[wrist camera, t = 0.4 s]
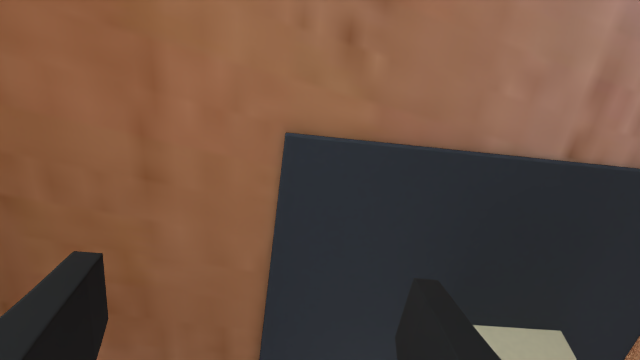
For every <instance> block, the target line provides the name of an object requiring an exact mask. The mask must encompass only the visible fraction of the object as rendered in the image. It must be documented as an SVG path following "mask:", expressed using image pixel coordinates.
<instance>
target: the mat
mask: <svg viewBox="0 0 640 360" xmlns="http://www.w3.org/2000/svg"><path fill="white" fill-rule="evenodd" d="M413 278H419V279H432V280H438V281H439V282H440V283H441V284H442V286H443V287H444V288H445V290H446V291H447V292H448V293H449V295H450V296H451V297H452V299H453V300H454V301H455V303H456V304H457V305H458V307H459V308H460V309H461V310H462V312H463V313H464V314H465V316H466V317H467V318H468V320H469V321H470V322H471V323H472V325H480V326H495V327H511V328H526V329H542V330H557V331H561V332H562V334H563V336H564V337H565V339H566V341H567V343H568V345H569V346H570V348H571V350H572V352H573V354H574V355H575V357H576V359H577V360H624V359H625V357H626V356H627V354H628V353H629V351H630V350H631V348H632V347H633V345H634V344H635V342H636V340H637V339H638V337H639V336H640V169H636V168H626V167H617V166H607V165H597V164H587V163H578V162H568V161H558V160H548V159H539V158H529V157H519V156H509V155H499V154H490V153H480V152H470V151H460V150H451V149H441V148H431V147H421V146H411V145H402V144H392V143H382V142H372V141H363V140H353V139H343V138H333V137H324V136H314V135H304V134H294V133H286V134H285V142H284V151H283V160H282V168H281V177H280V186H279V194H278V203H277V211H276V220H275V229H274V237H273V246H272V255H271V263H270V272H269V281H268V289H267V298H266V306H265V315H264V324H263V332H262V341H261V350H260V358H259V360H397V353H396V343H395V335H396V332H397V329H398V326H399V323H400V319H401V316H402V313H403V310H404V307H405V304H406V300H407V297H408V294H409V291H410V288H411V284H412V281H413Z"/></svg>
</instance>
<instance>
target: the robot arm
mask: <svg viewBox="0 0 640 360" xmlns="http://www.w3.org/2000/svg"><path fill="white" fill-rule="evenodd" d="M107 321H108V309H107V298H106V287H105V276H104V264H103V253H90V252H77V251H74V252H73V253H71V254H70V255H69V256H68V257H67V258H66V259H65V260H63V261H62V262H61V263H60V264H59V265H58V266H57V267H56V268H55V269H54V270H53V271H52V272H51V273H50V274H48V275H47V276H46V277H45V278H44V279H43V280H42V281H41V282H40V283H39V284H38V285H36V286H35V287H34V288H33V289H32V290H31V291H30V292H29V293H28V294H27V295H25V296H24V297H23V298H22V299H21V300H20V301H19V302H17V303H16V304H15V305H14V306H13V307H12V308H10V309H9V310H8V311H7V312H6V313H5V314H4V315H2V316H1V317H0V360H96V359H97V356H98V352H99V349H100V346H101V343H102V339H103V336H104V332H105V329H106V325H107ZM395 343H396V353H397V360H501V359H500V357H499V356H498V355H497V354H496V353H495V352H494V350H493V349H492V348H491V347H490V346H489V344H488V343H487V342H486V341H485V340H484V338H483V337H482V336H481V335H480V333H479V332H478V331H477V330H476V328H475V327H474V326H473V325H472V323H471V322H470V321H469V320H468V318H467V317H466V316H465V314H464V313H463V312H462V310H461V309H460V308H459V307H458V305H457V304H456V303H455V301H454V300H453V299H452V297H451V296H450V295H449V293H448V292H447V291H446V290H445V288H444V287H443V286H442V284H441V283H440V282H439V281H438V280H432V279H419V278H413V281H412V284H411V288H410V291H409V294H408V297H407V300H406V304H405V307H404V310H403V313H402V316H401V319H400V323H399V326H398V329H397V332H396V335H395Z"/></svg>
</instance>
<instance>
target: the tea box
mask: <svg viewBox="0 0 640 360" xmlns="http://www.w3.org/2000/svg"><path fill="white" fill-rule="evenodd" d="M473 326H474V327H475V328H476V330H477V331H478V332H479V333H480V335H481V336H482V337H483V338H484V340H485V341H486V342H487V343H488V344H489V346H490V347H491V348H492V349H493V350H494V352H495V353H496V354H497V355H498V356H499V357H500V359H501V360H577V359H576V357H575V355H574V354H573V352H572V350H571V348H570V346H569V345H568V343H567V341H566V339H565V337H564V336H563V334H562V332H561V331H557V330H542V329H526V328H511V327H495V326H480V325H473Z"/></svg>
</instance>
